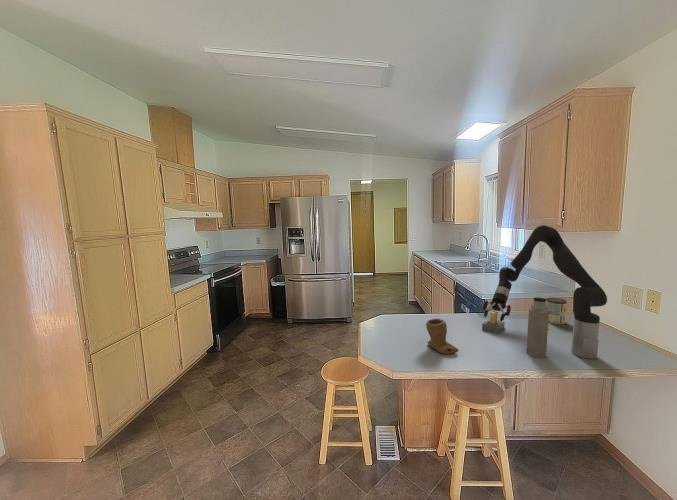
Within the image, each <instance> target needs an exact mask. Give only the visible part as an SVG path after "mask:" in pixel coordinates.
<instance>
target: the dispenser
mask: <svg viewBox="0 0 677 500" xmlns="http://www.w3.org/2000/svg"><path fill="white" fill-rule="evenodd" d="M505 322H506V321H504V320H503V321H500V319H499V320H498V319H497V323H496V324H491V323H490V318H489V319H487V320H486V321H484V322H483V323H482V324H481V329H482V330H483V331H486V332H490V333H494V334H498V333H499V332H501V331H502V330H503V329H505Z"/></svg>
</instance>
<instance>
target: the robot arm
mask: <svg viewBox="0 0 677 500" xmlns="http://www.w3.org/2000/svg"><path fill="white" fill-rule="evenodd" d="M529 235H530V236H529V237H528V238H527V240H526V242H525V244H524V245H523V246H522V249H521V250H520V251H519V252H518V254H517V255H516V256H515V257H514V258H513V259H512V261H511V262H510V266H512V267H513V268H511V267H508V266H502V267H501V268H500V270H499V272H498V284H497V287H496V289H495V291H494V294H493V297H492V300H491V301H488V300H485V302H484V304H483V306H482V310H483V311H484V312H483V313H484V314H483V317H484V318H487V316H488V315H489V312H492V311H496V312H501V315H500V318H499V321H503V322H504V320H505V317H506V316H507V317H510V315H511V311H512V310H511V309H512V305H510V304H508V305H506V304H507V302H508V299H509V298H510V297H509V296H510V292H511V289H512V285H513V283H512V282H516V281H517V280H518V279H519V277H520V274H521V272H522V270H523V269H524V268H525V266H526V265H527V264H528V263H529V262H530V261H531V259H532V256H533V253H534V249H535V247H536V246H537V245H538V244H539V243H541V242H542V243H545V244H546V245H547V247H549V248H550V250H551V252H552V260H553V263H554V265H555V266H556V268H557V269H558V271H560V273H561V274H563V275H565V277H568V278H569V279H571V280H573V281H574V282H575V283H577V284H578V285H579V286H580V287H576V289H574V291H573V294H572V295H573V296H572V312H573V325H572V328H573V329H572V340H571V341H572V342H571V353H572V354H573V355H575V356H577V357H579V358H581V359H589V360H597V359H598V350H599V332H600V331H599V329H600V319H601V318H600V316H599V314H596V313H593V312H592V310H591V308H592V307H595V308H596V307H597V308H598V307H604V306H606V304H607V302H608V296H607V294H606V292H605V291H604V289H603V288H602V287H601V285H599V284H598V283H597V282H596V281H595V280H594V279H593V278H592V276H590V274H589V273H588V271H587V270H586V269H585V268H584V266H582V264H581V262H580V261H579V260H578V259H577V258H576V256H575V255H574V253H572V251H571V250H570V248H569V247H568V245H566V243H565V241H564V240H563V238H562V236H561V235H560V233H559V231H558V230H557V229H556V228H554V227H551V226H549V225H545V224H540V225H537V226H536V227H535V228H534V229H533V230H532V232H531V234H529ZM514 269H515V270H514ZM505 309H506V312H505V311H504V310H505Z"/></svg>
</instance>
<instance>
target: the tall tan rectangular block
mask: <svg viewBox="0 0 677 500" xmlns="http://www.w3.org/2000/svg"><path fill="white" fill-rule="evenodd" d="M489 312H490V313H489V315H490V316H489V319H490V323H491V324H496V323H497V320H498V314H499V313H498V312H499V311H497V310H492V311H489Z"/></svg>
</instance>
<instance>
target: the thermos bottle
mask: <svg viewBox="0 0 677 500" xmlns="http://www.w3.org/2000/svg"><path fill="white" fill-rule="evenodd" d="M547 309H548V306H547V305H546V298H544V297H533V302H532V303H531V304H530V307H529V309H528V321H527V336H526V350H525V353H526V354H527V355H529V356H530V357H533V358H537V359H538V358H539V359H544V358H546V357H547V350H548V349H547V345H548V335H549V334H548V333H549V332H548V331H549V322H548V321H549V311H548V310H547Z"/></svg>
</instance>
